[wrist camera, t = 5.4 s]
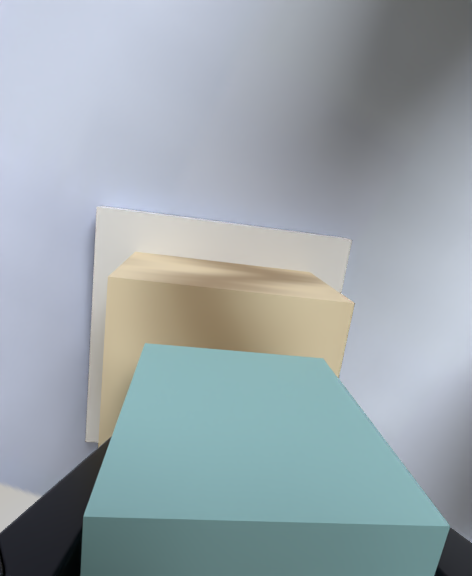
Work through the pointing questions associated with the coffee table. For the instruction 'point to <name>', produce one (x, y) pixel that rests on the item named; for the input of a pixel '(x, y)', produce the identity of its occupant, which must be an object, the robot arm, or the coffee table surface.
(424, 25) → the coffee table surface
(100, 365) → the baseplate
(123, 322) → the maple brick
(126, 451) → the teal block
